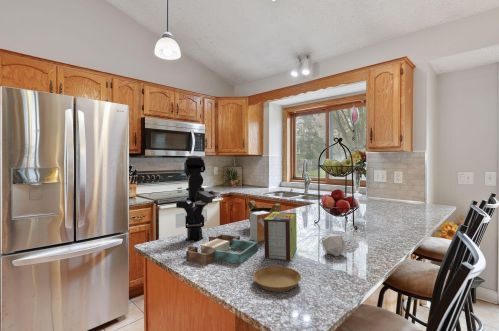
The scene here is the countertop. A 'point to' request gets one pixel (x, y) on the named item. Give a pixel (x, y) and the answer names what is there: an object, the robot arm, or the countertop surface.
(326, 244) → the white faceted lump
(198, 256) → the box
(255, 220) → the small box
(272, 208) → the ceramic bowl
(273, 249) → the protein box
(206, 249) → the cream block
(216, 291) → the countertop surface
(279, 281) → the plant saucer
